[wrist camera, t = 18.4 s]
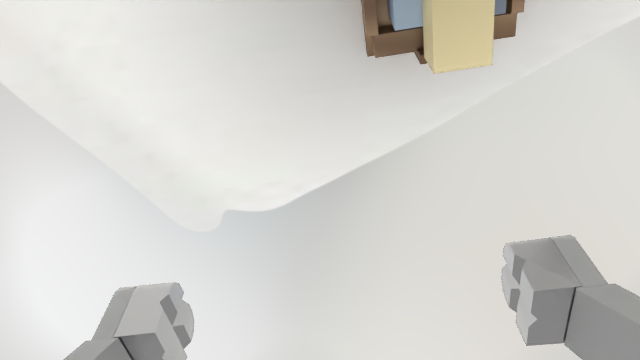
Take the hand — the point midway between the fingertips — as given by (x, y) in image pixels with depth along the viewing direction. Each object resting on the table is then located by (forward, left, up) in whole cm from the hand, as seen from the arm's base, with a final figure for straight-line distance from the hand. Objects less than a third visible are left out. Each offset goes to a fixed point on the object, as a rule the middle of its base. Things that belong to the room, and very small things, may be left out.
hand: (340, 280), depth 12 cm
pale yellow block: (0, +9, -26) cm, 28 cm away
